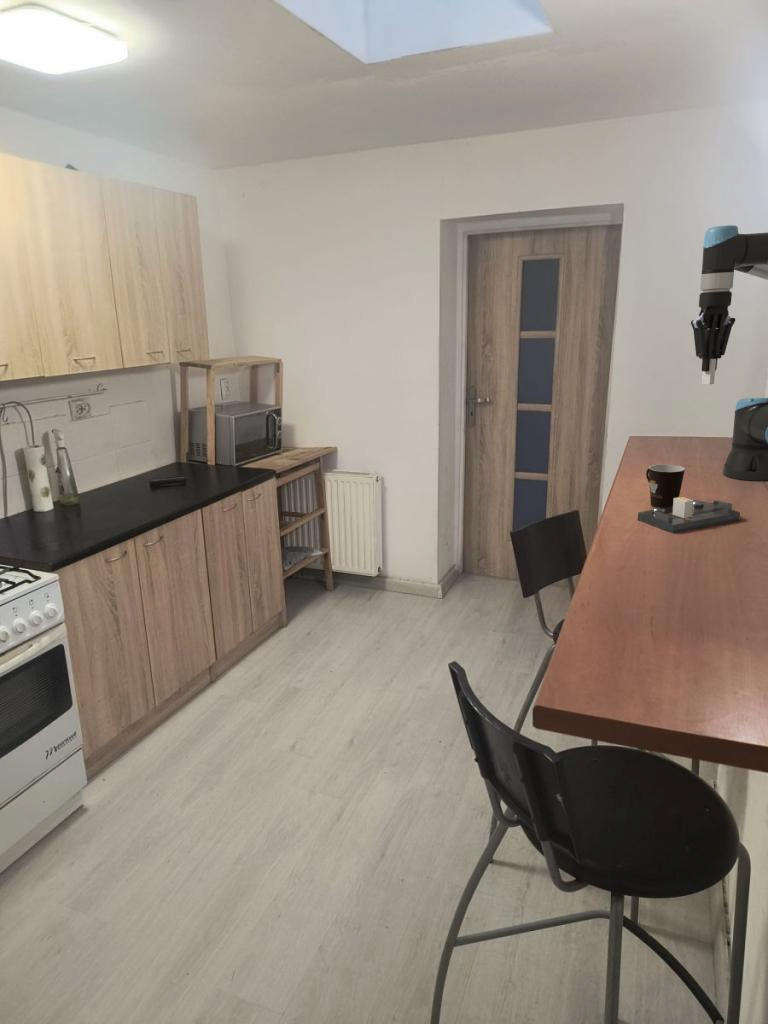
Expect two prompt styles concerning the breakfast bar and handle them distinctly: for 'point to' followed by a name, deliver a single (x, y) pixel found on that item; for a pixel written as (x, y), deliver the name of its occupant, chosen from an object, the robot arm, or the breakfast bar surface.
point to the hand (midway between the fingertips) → (707, 383)
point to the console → (701, 517)
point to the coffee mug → (664, 484)
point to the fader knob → (682, 507)
